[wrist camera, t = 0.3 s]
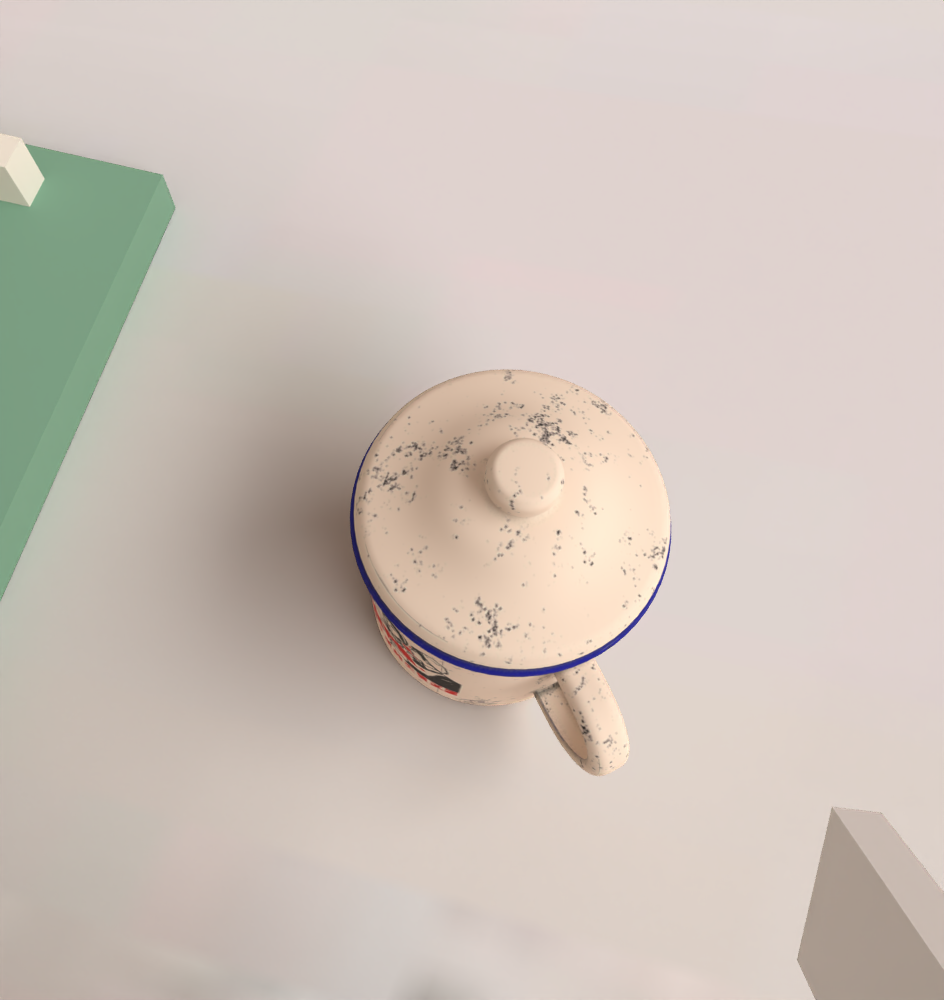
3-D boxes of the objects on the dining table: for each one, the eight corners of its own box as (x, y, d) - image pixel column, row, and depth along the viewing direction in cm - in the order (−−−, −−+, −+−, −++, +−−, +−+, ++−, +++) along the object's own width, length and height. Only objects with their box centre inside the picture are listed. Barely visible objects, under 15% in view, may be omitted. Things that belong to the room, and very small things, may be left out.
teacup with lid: (329, 532, 32) (285, 383, 21) (539, 446, 33) (600, 268, 23) (461, 839, 28) (491, 852, 17) (688, 723, 30) (845, 669, 19)
